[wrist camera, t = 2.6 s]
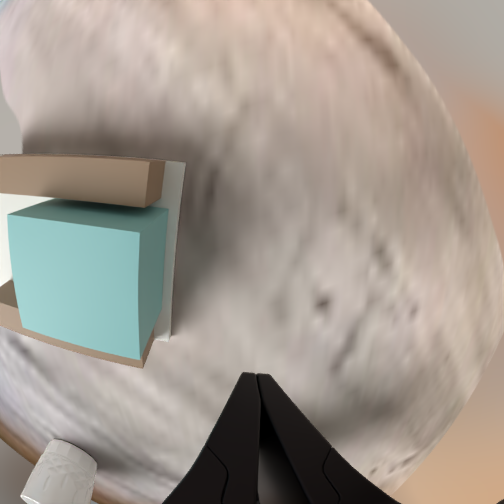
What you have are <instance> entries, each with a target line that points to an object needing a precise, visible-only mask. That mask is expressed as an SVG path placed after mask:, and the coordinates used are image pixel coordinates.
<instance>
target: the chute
mask: <svg viewBox="0 0 504 504" xmlns="http://www.w3.org/2000/svg"><path fill="white" fill-rule="evenodd" d="M185 167H186V163H185V162H177V161H167V160H157V159H146V158H134V157H120V156H104V155H82V154H5V155H0V326H2V327H5V328H7V329H10V330H12V331H15V332H17V333H20V334H23V335H25V336H28V337H31V338H34V339H36V340H39V341H42V342H45V343H48V344H51V345H54V346H57V347H60V348H64V349H67V350H70V351H73V352H77V353H80V354H84V355H88V356H91V357H95V358H99V359H103V360H107V361H111V362H115V363H119V364H123V365H128V366H132V367H137V368H142V369H143V367H144V364H145V362H146V359H147V356H148V354H149V351H150V349H151V346H152V343H153V341H154V339H155V340H161V341H167V342H169V340H170V337H171V314H172V295H173V279H174V266H175V254H176V243H177V232H178V222H179V213H180V205H181V196H182V189H183V181H184V174H185ZM54 198H60V199H70V200H80V201H90V202H99V203H108V204H116V205H125V206H133V207H142V208H145V207H147V206H151V207H159V208H166V209H169V210H168V220H167V231H166V243H165V256H164V271H163V291H162V309H161V311H160V314H159V316H158V318H157V321H156V323H155V325H154V328H153V330H152V332H151V335H150V337H149V340H148V342H147V345H146V347H145V349H144V352H143V354H142V357H141V359H140V360H136V359H132V358H127V357H123V356H118V355H114V354H110V353H106V352H102V351H98V350H94V349H90V348H86V347H82V346H79V345H75V344H72V343H68V342H65V341H62V340H59V339H55V338H52V337H49V336H46V335H43V334H40V333H37V332H34V331H31V330H28V329H26V328H23V326H22V322H21V318H20V313H19V309H18V304H17V299H16V293H15V288H14V282H13V275H12V268H11V260H10V251H9V239H8V224H7V214H10V213H12V212H15V211H18V210H21V209H24V208H26V207H29V206H32V205H35V204H38V203H41V202H44V201H47V200H51V199H54Z"/></svg>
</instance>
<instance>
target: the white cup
mask: <svg viewBox="0 0 504 504" xmlns="http://www.w3.org/2000/svg"><path fill="white" fill-rule="evenodd" d="M96 471H97V463H96V462H95V460H94V459H93V458H92V457H91V456H90V455H88V454H87V453H86V452H84V451H83V450H81V449H80V448H78V447H76V446H74V445H73V444H70V443H68V442H65V441H63V440H57V439H53V440H51V441H50V442H49V444H48V446H47V447H46V449H45V451H44V454H42V455H41V457H40V459H39V460H38V463H37V464H36V466H35V468H34V469H33V471H32V473H31V475H30V477H29V479H28V481H27V483H26V485H25V487H24V490H23V492H22V494H21V498H22V499H23V500H24V501H25V502H26V503H28V504H90V502H91V497H92V492H93V487H94V479H95V475H96Z"/></svg>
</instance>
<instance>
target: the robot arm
mask: <svg viewBox="0 0 504 504" xmlns="http://www.w3.org/2000/svg"><path fill="white" fill-rule="evenodd" d="M331 447H332V446H331V444H330V443H329V442H328V441H327V440H326V439H325V438H324V437H323V436H322V435H321V433H320V432H319V431H318V430H317V429H316V428H315V427H314V426H313V425H312V423H311V422H310V421H309V420H308V419H307V418H306V417H305V415H304V414H303V413H302V412H301V411H300V410H299V409H298V407H297V406H296V405H295V404H294V403H293V402H292V400H291V399H290V398H289V397H288V396H287V394H286V393H285V392H284V391H283V390H282V389H281V387H280V386H279V385H278V384H277V382H276V381H275V380H274V379H273V378H272V376H271V375H269V374H261V373H257V374H255V373H249V372H243V373H242V374H241V375H240V377H239V379H238V381H237V383H236V385H235V387H234V389H233V391H232V393H231V395H230V397H229V399H228V401H227V403H226V405H225V407H224V409H223V411H222V413H221V415H220V417H219V419H218V421H217V422H216V424H215V426H214V428H213V430H212V432H211V434H210V436H209V438H208V439H207V441H206V443H205V446H204V447H203V448H202V450H201V452H200V454H199V456H198V457H197V459H196V461H195V462H194V464H193V465H192V467H191V469H190V470H189V471H188V473H187V474H186V475H185V477H184V478H183V479H182V481H181V482H180V483H179V484H178V485H177V487H176V488H175V489H174V490H173V491H172V492H171V494H170V495H169V496H168V497H167V498H166V499H165V500H164V502H163V503H162V504H401V503H399V502H397V501H396V500H394V499H393V498H391V497H390V496H389V495H387V494H386V493H385V492H383V491H382V490H381V489H379V488H378V487H377V486H375V485H374V484H373V483H371V482H370V481H369V480H368V479H366V478H365V477H364V476H363V475H361V474H360V473H359V472H358V471H357V470H356V469H354V468H353V467H352V466H351V465H350V464H349V463H348V462H347V461H346V460H345V459H344V458H343V457H342V456H341V455H340V454H339V453H338V452H337V451H336V450H335V449H334V448H333V447H332V448H331ZM497 504H504V499H503V500H501V501H500V502H498V503H497Z"/></svg>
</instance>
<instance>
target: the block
mask: <svg viewBox="0 0 504 504" xmlns="http://www.w3.org/2000/svg"><path fill="white" fill-rule="evenodd" d="M168 210H169V209H166V208H159V207H151V206H147V207H145V208H142V207H133V206H125V205H116V204H108V203H99V202H90V201H80V200H70V199H60V198H54V199H51V200H47V201H44V202H41V203H38V204H35V205H32V206H29V207H26V208H24V209H21V210H18V211H15V212H12V213H10V214H7V224H8V239H9V251H10V260H11V268H12V275H13V282H14V288H15V293H16V299H17V304H18V309H19V313H20V318H21V322H22V326H23V328H26V329H28V330H31V331H34V332H37V333H40V334H43V335H46V336H49V337H52V338H55V339H59V340H62V341H65V342H68V343H72V344H75V345H79V346H82V347H86V348H90V349H94V350H98V351H102V352H106V353H110V354H114V355H118V356H123V357H127V358H132V359H136V360H140V359H141V357H142V354H143V352H144V349H145V347H146V345H147V342H148V340H149V337H150V335H151V332H152V330H153V328H154V325H155V323H156V321H157V318H158V316H159V314H160V311H161V309H162V291H163V271H164V256H165V243H166V231H167V220H168Z"/></svg>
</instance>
